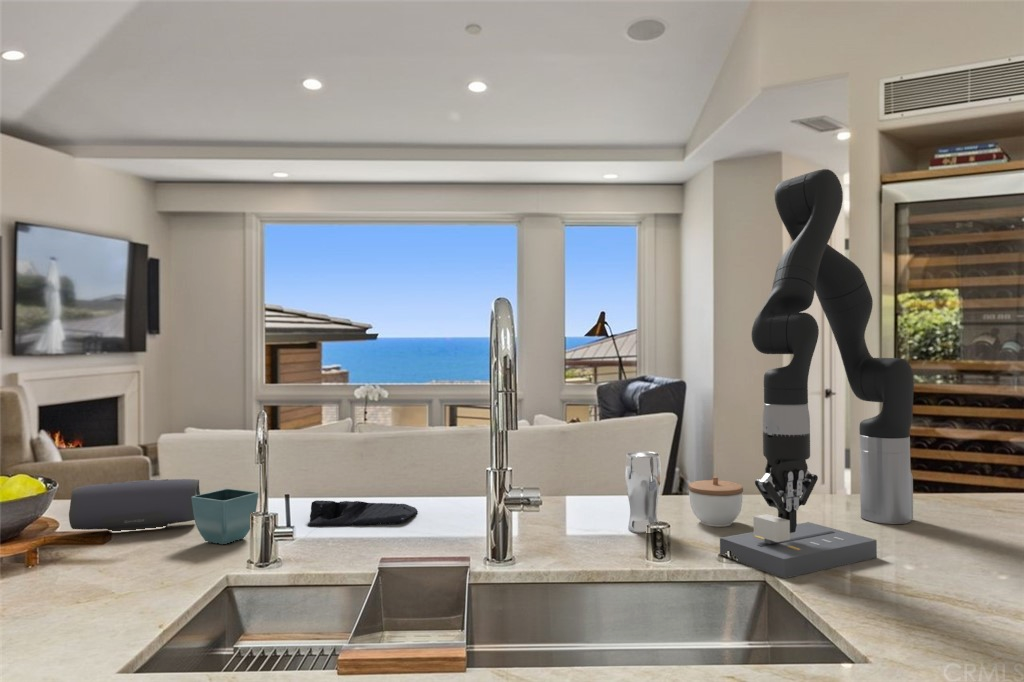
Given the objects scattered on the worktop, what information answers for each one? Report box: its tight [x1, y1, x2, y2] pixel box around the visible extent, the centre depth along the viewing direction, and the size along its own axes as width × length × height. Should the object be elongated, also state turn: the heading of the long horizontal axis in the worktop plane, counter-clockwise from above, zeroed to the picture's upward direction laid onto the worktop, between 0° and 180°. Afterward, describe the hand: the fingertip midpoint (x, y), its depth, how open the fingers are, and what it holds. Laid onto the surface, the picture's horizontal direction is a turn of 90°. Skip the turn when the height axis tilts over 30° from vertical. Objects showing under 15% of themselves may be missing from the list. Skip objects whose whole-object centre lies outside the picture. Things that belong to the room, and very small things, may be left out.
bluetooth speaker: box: [68, 478, 201, 531], centre depth 146 cm, size 23×9×10 cm, turn 108°
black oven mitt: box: [306, 500, 419, 527], centre depth 153 cm, size 15×22×5 cm
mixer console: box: [719, 521, 878, 579], centre depth 123 cm, size 22×14×3 cm, turn 117°
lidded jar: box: [688, 476, 744, 528], centre depth 146 cm, size 11×11×9 cm
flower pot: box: [191, 488, 259, 545], centre depth 137 cm, size 9×9×9 cm
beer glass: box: [624, 451, 662, 535], centre depth 141 cm, size 7×7×15 cm
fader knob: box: [753, 513, 790, 544], centre depth 120 cm, size 3×5×4 cm, turn 27°
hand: (787, 531), depth 121 cm, fingers closed
